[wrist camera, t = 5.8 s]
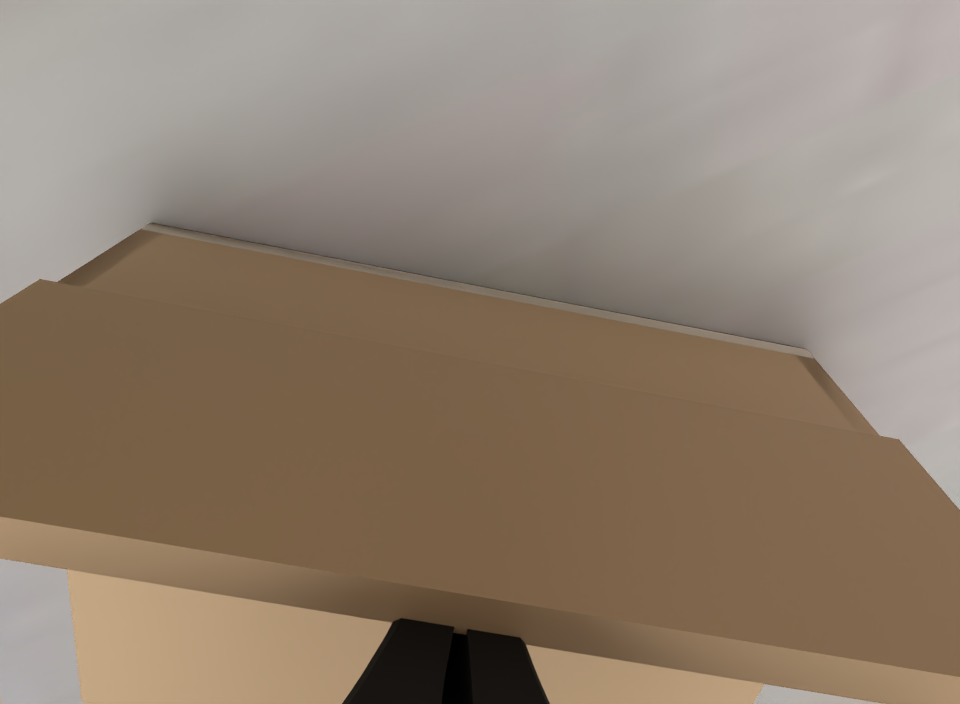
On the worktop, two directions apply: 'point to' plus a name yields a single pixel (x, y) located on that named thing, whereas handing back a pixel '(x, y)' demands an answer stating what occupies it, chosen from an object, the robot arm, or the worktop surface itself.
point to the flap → (470, 498)
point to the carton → (428, 327)
